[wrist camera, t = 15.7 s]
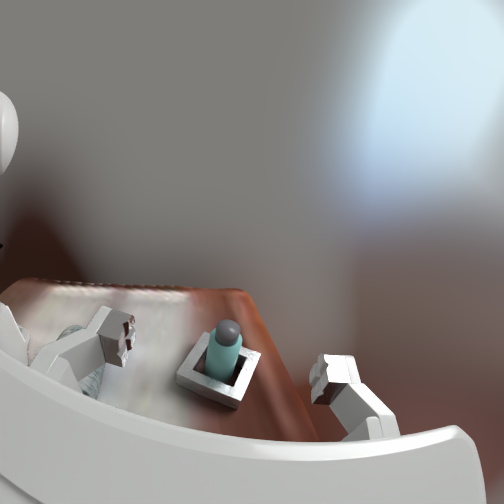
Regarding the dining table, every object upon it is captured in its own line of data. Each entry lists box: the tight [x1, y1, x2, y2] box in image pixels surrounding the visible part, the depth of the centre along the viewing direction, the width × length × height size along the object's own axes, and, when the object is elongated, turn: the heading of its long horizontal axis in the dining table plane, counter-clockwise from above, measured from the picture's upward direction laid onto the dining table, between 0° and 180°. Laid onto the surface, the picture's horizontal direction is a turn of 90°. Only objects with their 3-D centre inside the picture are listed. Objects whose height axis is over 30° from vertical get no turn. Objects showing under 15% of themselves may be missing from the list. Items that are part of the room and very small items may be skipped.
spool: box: [56, 325, 105, 400], centre depth 29 cm, size 14×10×10 cm
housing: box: [176, 332, 260, 410], centre depth 40 cm, size 10×10×3 cm
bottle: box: [204, 320, 242, 384], centre depth 38 cm, size 4×4×11 cm
